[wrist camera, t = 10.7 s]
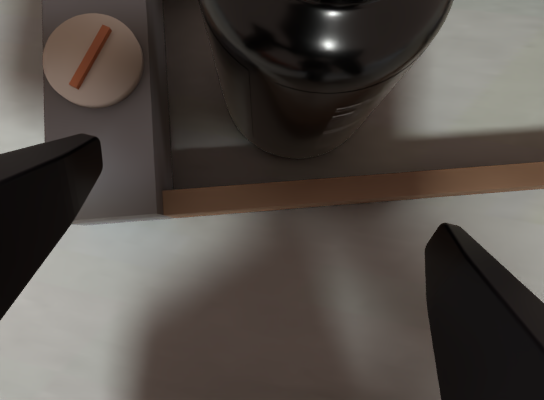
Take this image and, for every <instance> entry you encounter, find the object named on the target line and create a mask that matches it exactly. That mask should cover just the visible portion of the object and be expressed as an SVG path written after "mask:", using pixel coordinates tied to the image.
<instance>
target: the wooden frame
mask: <svg viewBox="0 0 544 400" xmlns="http://www.w3.org/2000/svg"><path fill="white" fill-rule="evenodd" d="M42 23H43V74H44V126H45V142H49V141H53V140H57V139H61V138H65V137H68V136H72V135H76V134H80V133H84V134H88V135H92V136H96V137H98V138H99V140H100V142H101V150H102V159H103V169H102V172H101V174H100V176H99V178H98V180H97V181H96V183H95V185H94V187H93V188H92V190H91V192H90V194H89V195H88V197H87V199H86V201H85V203H84V204H83V206H82V208H81V210H80V211H79V213H78V215H77V216H76V218H75V219H74V221H73V222H72V224H75V225H94V224H107V223H120V222H132V221H145V220H157V219H170V218H182V217H195V216H207V215H220V214H232V213H245V212H257V211H270V210H282V209H295V208H307V207H320V206H332V205H345V204H357V203H370V202H382V201H395V200H407V199H420V198H432V197H445V196H457V195H470V194H482V193H495V192H508V191H520V190H533V189H544V162H533V163H520V164H507V165H494V166H481V167H467V168H454V169H441V170H428V171H415V172H401V173H388V174H375V175H362V176H349V177H335V178H322V179H309V180H296V181H283V182H269V183H256V184H243V185H230V186H216V187H203V188H190V189H177V190H173V178H172V160H171V142H170V124H169V106H168V88H167V70H166V53H165V35H164V17H163V0H42Z"/></svg>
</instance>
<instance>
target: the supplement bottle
mask: <svg viewBox="0 0 544 400" xmlns="http://www.w3.org/2000/svg"><path fill="white" fill-rule="evenodd" d="M452 3H453V0H199V4H200V8H201V12H202V16H203V20H204V23H205V27H206V31H207V35H208V39H209V43H210V46H211V50H212V54H213V58H214V62H215V66H216V69H217V73H218V77H219V81H220V85H221V89H222V92H223V96H224V99H225V103H226V106H227V109H228V112H229V114H230V116H231V118H232V120H233V122H234V123H235V125H236V127H237V128H238V129H239V131H240V132H241V133H242V134H243V135H244V136H245V137H246V138H247V139H248V140H249V141H250V142H251V143H253V144H254V145H255V146H257V147H259V148H260V149H262V150H264V151H266V152H268V153H271V154H273V155H277V156H280V157H285V158H294V159H302V158H311V157H315V156H319V155H322V154H325V153H327V152H329V151H331V150H333V149H335V148H337V147H338V146H339V145H341V144H342V143H344V142H345V141H346V140H347V139H348V138H349V137H350V136H351V135H352V134H353V133H354V132H355V131H356V130H357V129H358V128H359V127H360V126H361V124H362V123H363V122H364V121H365V120H366V119H367V117H368V116H369V115H370V114H371V113H372V112H373V110H374V109H375V108H376V107H377V106H378V105H379V104H380V102H381V101H382V100H383V99H384V98H385V97H386V95H387V94H388V93H389V92H390V91H391V90H392V88H393V87H394V86H395V85H396V84H397V83H398V81H399V80H400V79H401V78H402V77H403V76H404V74H405V73H406V72H407V71H408V70H409V69H410V67H411V66H412V65H413V64H414V63H415V62H416V60H417V59H418V58H419V57H420V56H421V54H422V53H423V52H424V51H425V49H426V48H427V47H428V46H429V44H430V43H431V42H432V40H433V39H434V37H435V36H436V35H437V33H438V32H439V30H440V28H441V27H442V25H443V23H444V22H445V20H446V18H447V15H448V13H449V11H450V9H451V6H452Z"/></svg>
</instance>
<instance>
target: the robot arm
mask: <svg viewBox="0 0 544 400" xmlns="http://www.w3.org/2000/svg"><path fill="white" fill-rule="evenodd" d="M102 169H103V159H102V150H101V142H100V140H99V138H98V137H96V136H92V135H88V134H84V133H80V134H76V135H72V136H68V137H65V138H61V139H57V140H53V141H49V142H45V143H42V144H38V145H34V146H30V147H26V148H22V149H19V150H15V151H11V152H7V153H3V154H0V320H1V319H2V317H3V316H4V315H5V313H6V312H7V311H8V309H9V308H10V307H11V305H12V304H13V303H14V301H15V300H16V298H17V297H18V296H19V294H20V293H21V292H22V290H23V289H24V288H25V286H26V285H27V284H28V282H29V281H30V279H31V278H32V277H33V275H34V274H35V273H36V271H37V270H38V269H39V267H40V266H41V265H42V263H43V262H44V260H45V259H46V258H47V256H48V255H49V254H50V252H51V251H52V250H53V248H54V247H55V246H56V244H57V243H58V241H59V240H60V239H61V237H62V236H63V235H64V233H65V232H66V231H67V229H68V228H69V227H70V225H71V224H72V222H73V221H74V219H75V218H76V216H77V215H78V213H79V211H80V210H81V208H82V206H83V204H84V203H85V201H86V199H87V197H88V195H89V194H90V192H91V190H92V188H93V187H94V185H95V183H96V181H97V180H98V178H99V176H100V174H101V172H102ZM425 276H426V301H427V310H428V317H429V323H430V330H431V336H432V343H433V349H434V356H435V362H436V369H437V375H438V382H439V388H440V395H441V400H544V303H543V302H542V301H541V300H540V299H538V298H537V297H536V296H535V295H534V294H533V293H532V292H531V291H530V290H529V289H528V288H526V287H525V286H524V285H523V284H522V283H521V282H520V281H519V280H518V279H517V278H516V277H514V276H513V275H512V274H511V273H510V272H509V271H508V270H507V269H506V268H505V267H504V266H502V265H501V264H500V263H499V262H498V261H497V260H496V259H495V258H494V257H493V256H492V255H490V254H489V253H488V252H487V251H486V250H485V249H484V248H483V247H482V246H481V245H479V244H478V243H477V242H476V241H475V240H474V239H473V238H472V237H471V236H470V235H469V234H467V233H466V232H465V231H464V230H463V229H462V228H461V227H459V226H457V225H453V224H449V223H442V224H441V225H440V226H439V227H438V228H437V230H436V231H435V233H434V234H433V236H432V237H431V239H430V240H429V242H428V243H427V245H426V248H425Z"/></svg>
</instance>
